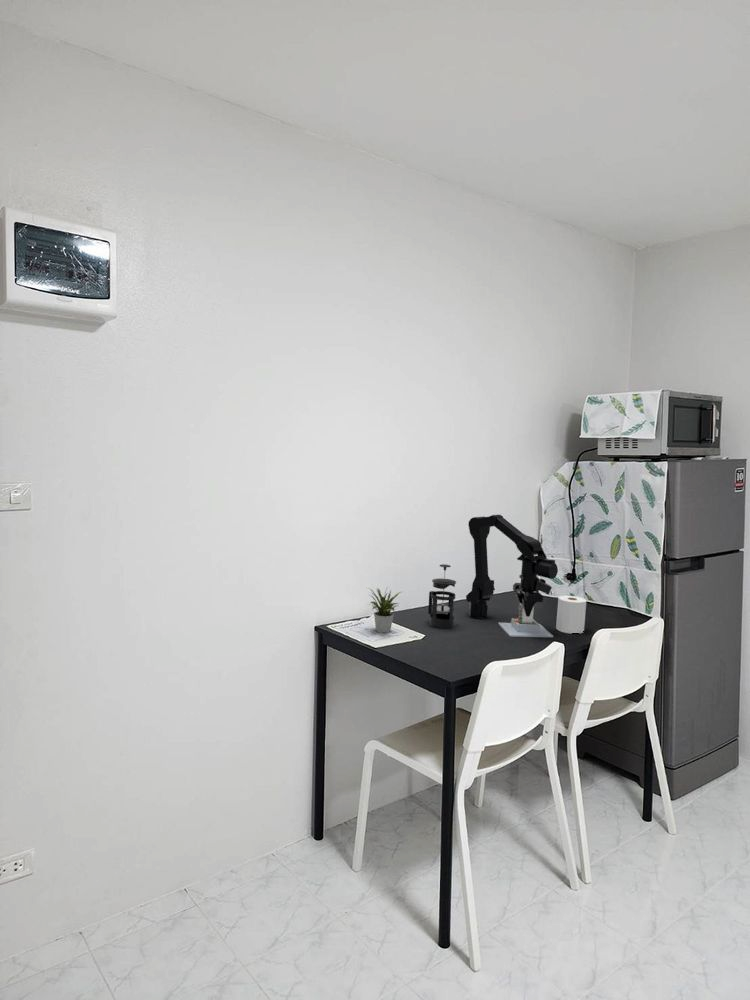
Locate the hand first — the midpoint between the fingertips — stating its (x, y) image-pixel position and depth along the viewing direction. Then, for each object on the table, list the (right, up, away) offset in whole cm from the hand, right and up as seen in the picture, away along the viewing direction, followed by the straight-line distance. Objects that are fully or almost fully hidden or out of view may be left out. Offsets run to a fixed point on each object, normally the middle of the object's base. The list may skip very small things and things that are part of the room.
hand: (526, 614), depth 263 cm
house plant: (-55, -4, -8) cm, 55 cm away
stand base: (0, -6, +1) cm, 6 cm away
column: (0, -4, 0) cm, 4 cm away
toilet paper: (+17, -7, +4) cm, 19 cm away
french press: (-32, -4, +3) cm, 32 cm away
